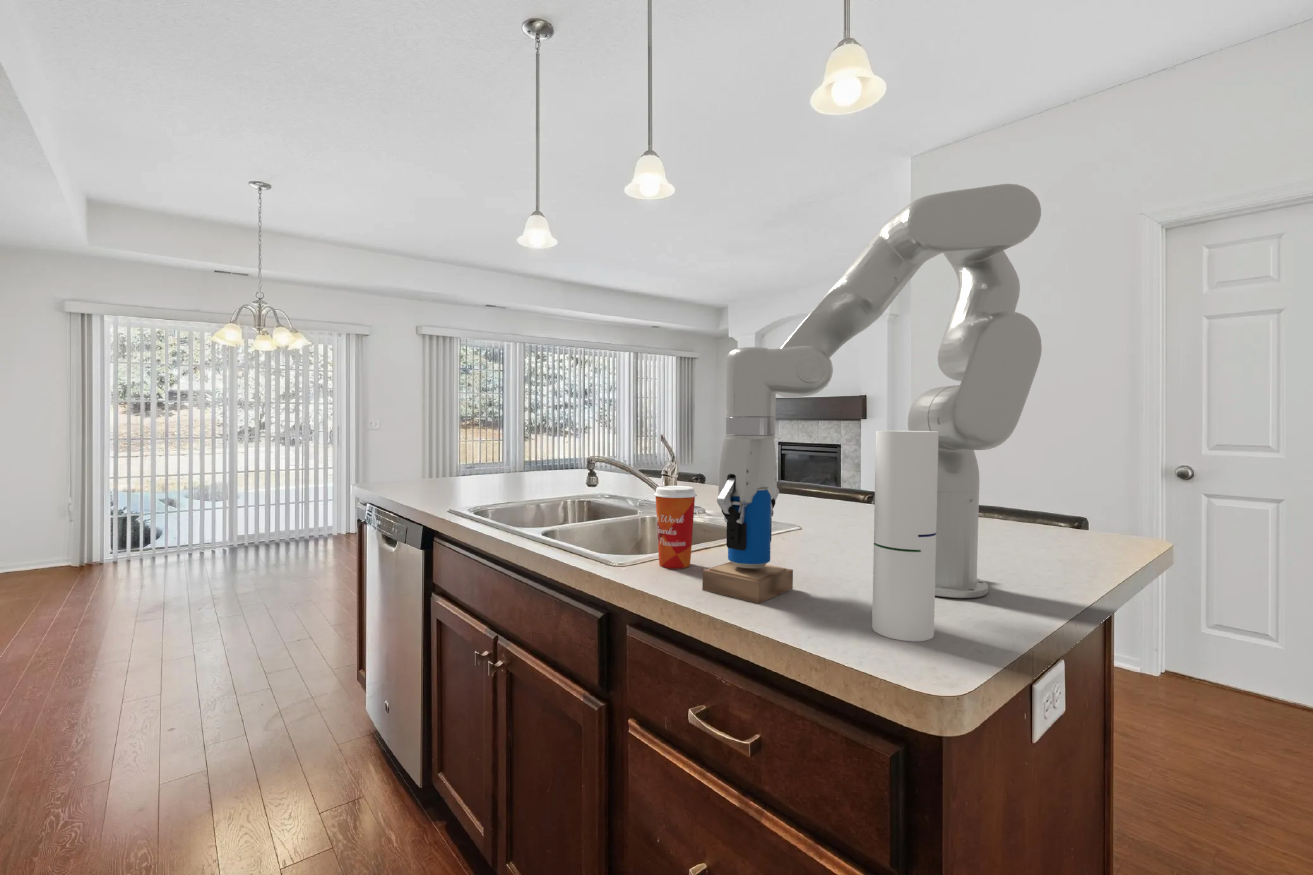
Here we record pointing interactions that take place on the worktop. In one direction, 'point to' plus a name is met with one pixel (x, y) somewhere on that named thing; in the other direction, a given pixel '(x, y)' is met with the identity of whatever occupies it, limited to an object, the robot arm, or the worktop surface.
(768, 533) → the beverage can
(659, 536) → the paper cup
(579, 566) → the worktop surface
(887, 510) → the cylindrical container
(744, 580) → the plinth
